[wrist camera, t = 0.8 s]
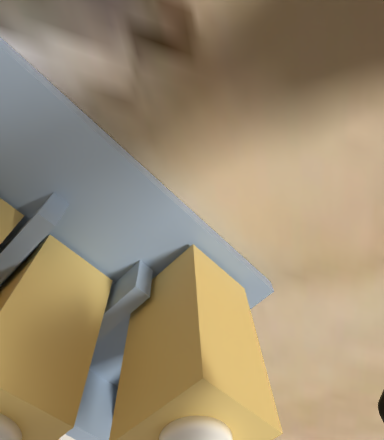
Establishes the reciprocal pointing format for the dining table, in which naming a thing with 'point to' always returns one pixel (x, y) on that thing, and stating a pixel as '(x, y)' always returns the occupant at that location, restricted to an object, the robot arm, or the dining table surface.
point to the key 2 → (194, 361)
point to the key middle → (47, 340)
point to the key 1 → (8, 219)
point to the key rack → (94, 218)
